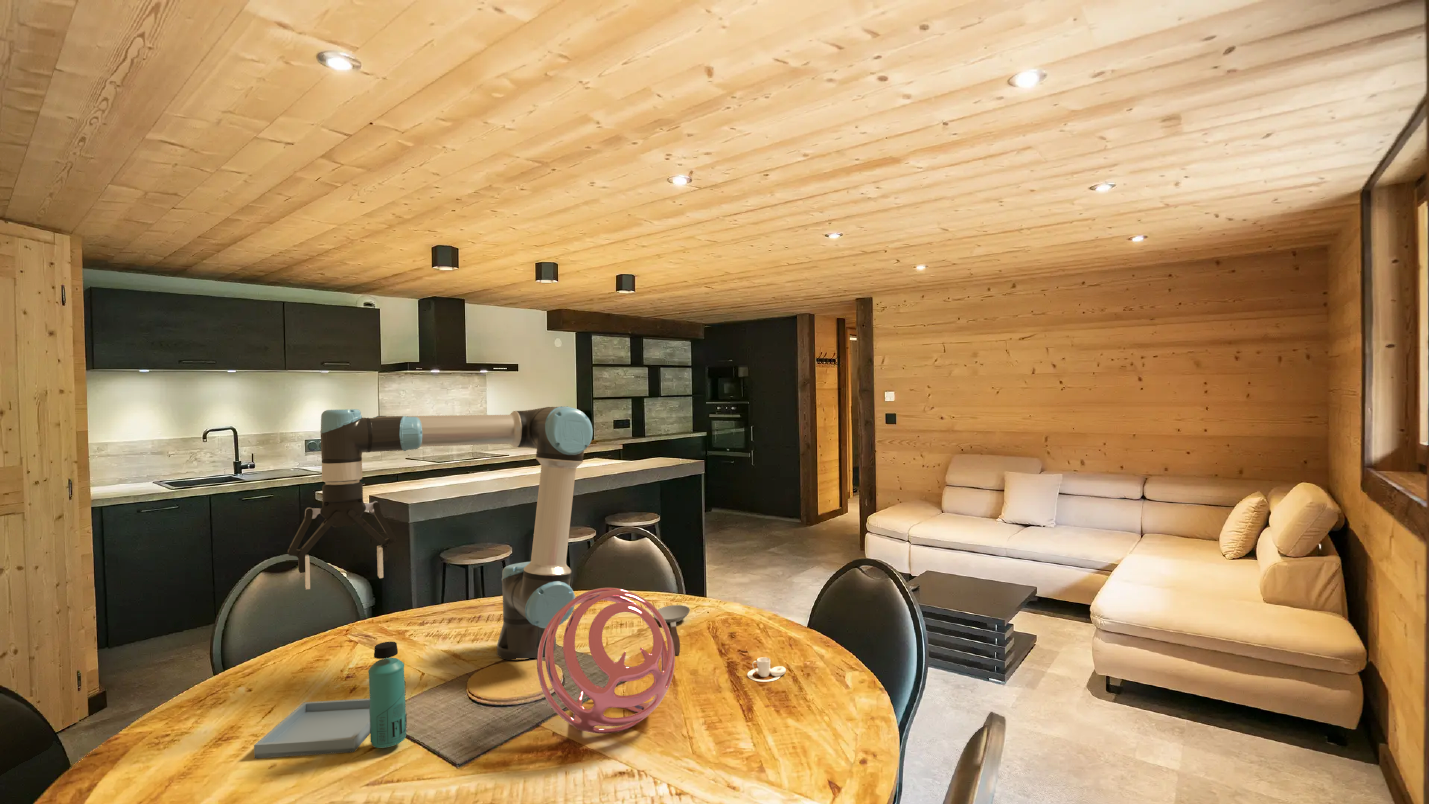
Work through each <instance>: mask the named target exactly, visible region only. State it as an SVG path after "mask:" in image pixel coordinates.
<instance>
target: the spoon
mask: <svg viewBox="0 0 1429 804" xmlns="http://www.w3.org/2000/svg"><path fill="white" fill-rule="evenodd" d="M657 610H658V611H659V612H660V614H661V615H662V616H663V618H664V620H665V621H666V623H667V625H668V624H669V625H670V630H671V631H670V633H671V636H672V640H673V644H674V651H675V657H676V656H680V652H681V651H680V650H681V642H680V635H679V634H678V631H677V630H678V629H677V623H679V622H681V621H682V620H684V619H685V618H686V617H687V616H688V615H689V613H690V611H691V609H690V608H689V607H688V606H686V605H682V604H672V605H667V606H663V607H661V608H657ZM652 617H653V618H654V619H655V620H657V621H658V619H657V618H656V617H655V615H654V614H653V613H652Z"/></svg>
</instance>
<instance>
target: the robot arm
mask: <svg viewBox="0 0 1429 804" xmlns="http://www.w3.org/2000/svg"><path fill="white" fill-rule="evenodd" d="M361 413H362V412H361V410H360V409H357V408H351V409H349V408H347V409H326V410H324V411H323V412H322V413H321V416H320V432H319V433H320V450H321V451H320V453H321V454H320V455H321V481H322V482H324V483H323V485H322V486H321V492H322V494H321V495H322V498H321V499H322V504H321V507H319V508H317V507H316V508H315V507H313V508H312V507H306V508H305V510H304V518H303V520H302V522H301V524H300V525H299V527H298V530H297V532H296V534H295V536H294V537H293V539H292V541H291V543H290V545H289V547H288V548H287V554H288V556H289V557H291V556H293V557H296V558H297V562H298V563H297V565H298V569H297V570H298V572H299V574H303V573H304V586H305V587H304V588H305V590H311V569H310V568H311V565H310V562H311V561H310V555H309V554H308V553H309V552H310V551H311V549H312V548H313V547H315V545H316V544H317V542H319V540H320V539H321V538H322V537H323V535H324V534H325V533H326V532H327V531H328V530H329V529H330V528H331V526H332V527H333V528H341V527H343V526H344V527H345V526H347V527H351V526H354V525H355V524H356V523H357V524H358V525H359V526H360V527H362V528H363V529H364V531H366V532H367V533H368V534H369V535H370V536H371V537H373V539H375V540H376V541H377V542H378V544H380V545H377V546H376V560H377V561H376V562H377V566H376V567H377V577H378V578H379V579H383V578H384V562H388V560H389V546H390V545H391V544H394V543H396V542H397V541H398V538H397V537H396V535H395V533H394V532H393V529H392V528H391V526H390V525H389V523H388V521H387V520H386V518H385V516H384V515H383V513H382V512H381V505H380V503H379V502H378V501H376V500H374V501H372V502H368V503H364V492H363V491H364V487H363V482H362V481H360V480H362V479H363V457H362V456H363V453H379V452H406V451H412V450H413V451H414V450H418V449H419V448H422V447H426V448H427V447H452V446H454V447H455V446H481V445H485V446H486V445H508V444H509V445H511V446H512V447H513V448H529V449H530V448H531V449H535V450H536V453H535V459H536V461H538V463H539V464H540V476H539V484H538V491H537V492H538V494H537V501H536V502H537V503H536V510H535V518H534V519H535V521H534V531H533V541H532V547H531V548H532V550H531V557H530V561H524V562H516V563H512V564H509V565H506V566H505V567H504V568H503V569H502V573H501V575H502V577H501V584H502V586H501V588H502V591H501V592H502V616H503V617H502V618H503V619H502V620H503V621H502V622H503V623H502V625H501V626H502V627H501V630H500V634H499V636H498V640H497V643H496V655H497V656H498V657H499V658H501V659H503V660H507V661H511V660H510V659H516V658H535V659H537V654H538V648H539V644H540V640H541V637H542V635H543V632H544V630H545V628H546V627H547V625H548V623H549V622H550V620H551V619H552V618H553V616H554V615H555V614H556V613H557V612H558V611H559V610H560V609H561V608H562V607H564V606H565V605H566V604H567V603H569V602H570V601H571V600H572V599H574V598H575V597H576V594H575V592H574V589H573V588H572V587H571V577H572V568H570V567H569V566H568V565H567V557H568V548H569V547H568V546H569V536H570V529H571V517H572V508H573V500H574V498H573V497H574V489H575V482H576V481H575V479H576V471H577V468H578V467H579V466H580V465H581V464H583V463H584V456H585V455H584V454H585V453H584V452H585V450H587V448H588V447H589V446H590V444H591V443H592V440H593V433H594V432H593V431H594V429H593V425H592V422H591V420H590V417H588V416H587V415H586V414H585V412H583V411H581V410H580V409H577V408H575V407H571V406H546V407H545V406H544V407H540V408H534V409H528V410H527V409H526V410H513V411H511V413H510V414H469V415H468V414H467V415H466V414H465V415H464V414H463V415H462V414H459V415H453V414H452V415H407V416H406V415H393V416H392V415H388V416H387V415H377V416H374V417H363V415H362V414H361ZM366 510H368V511H369V512H370V513H373V515H374V517H375V518H376V520H377V521H378V523H379V525H380V526H381V528H382V529H383V531H384V534H385V535H386V536H387V538H384V537H383V536H382V535H381V534H379V532H377V530H375V529H374V527H372V526H371V525H370V524H369V523H368V522H367V521H366V520H365V519H364V518H362V515H363V514H364V512H365V511H366ZM319 514H320V516H322V517H323V518H324V521H322V522H321V524H320V526H318V528H317V529H316V530H315V532H314V533H313V534H312V535H311V536H310V537H309V539H308V540H307V541H306V542H305V543H304V544H303V545H302V546H301V548H300V549H298V548H299V546H300V544H301V543H302V541H303V538H304V537H305V535H306V533H307V531H308V530H309V527H310V526H311V523H312V520H314V519H316V518H317V516H318V515H319ZM574 610H575V606H573V607H571V608H570V609H569V610H568V611H567V613H566V614H565V615H564V617H563V618H562V620H561V622H560V624H559V626H561V625H562V624H564V623H565V622H566V621H567V620H569V619H570V617H571V615H572V614H573V612H574ZM548 633H549V632H548ZM547 636H548V634H547ZM546 641H547V637H546V640H545V643H544V647H543V654H542V657H545V648H546ZM556 648H557V637H556V636H555V640H554V651H555V650H556Z"/></svg>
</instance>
